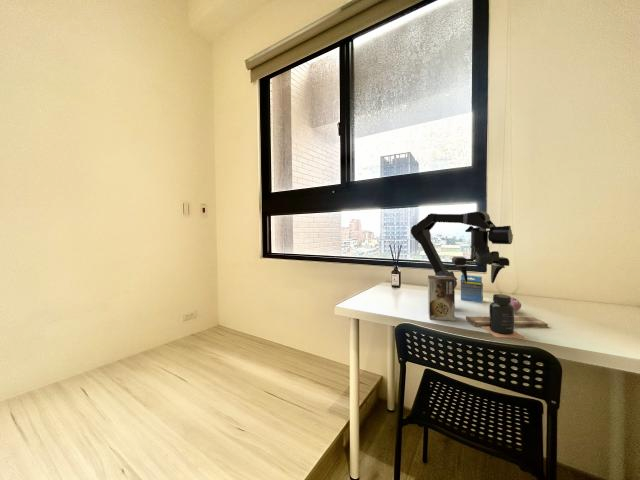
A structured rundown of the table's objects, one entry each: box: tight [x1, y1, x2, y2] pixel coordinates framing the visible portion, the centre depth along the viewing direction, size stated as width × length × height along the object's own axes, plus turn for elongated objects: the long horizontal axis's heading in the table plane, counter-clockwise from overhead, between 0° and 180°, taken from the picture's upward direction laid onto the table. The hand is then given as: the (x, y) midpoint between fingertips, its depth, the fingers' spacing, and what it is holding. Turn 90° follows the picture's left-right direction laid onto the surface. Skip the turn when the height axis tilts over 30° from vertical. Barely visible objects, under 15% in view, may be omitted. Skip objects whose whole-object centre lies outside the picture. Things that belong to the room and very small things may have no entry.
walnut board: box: [465, 315, 549, 328], centre depth 94 cm, size 24×7×1 cm, turn 84°
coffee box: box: [427, 275, 456, 322], centre depth 101 cm, size 9×6×16 cm
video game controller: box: [510, 296, 522, 314], centre depth 107 cm, size 10×5×7 cm, turn 170°
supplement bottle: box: [488, 293, 515, 335], centre depth 86 cm, size 7×7×12 cm
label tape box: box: [460, 274, 484, 304], centre depth 122 cm, size 9×4×12 cm, turn 49°
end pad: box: [482, 326, 526, 339], centre depth 86 cm, size 9×9×1 cm
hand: (479, 282), depth 103 cm, fingers open, 9 cm apart
